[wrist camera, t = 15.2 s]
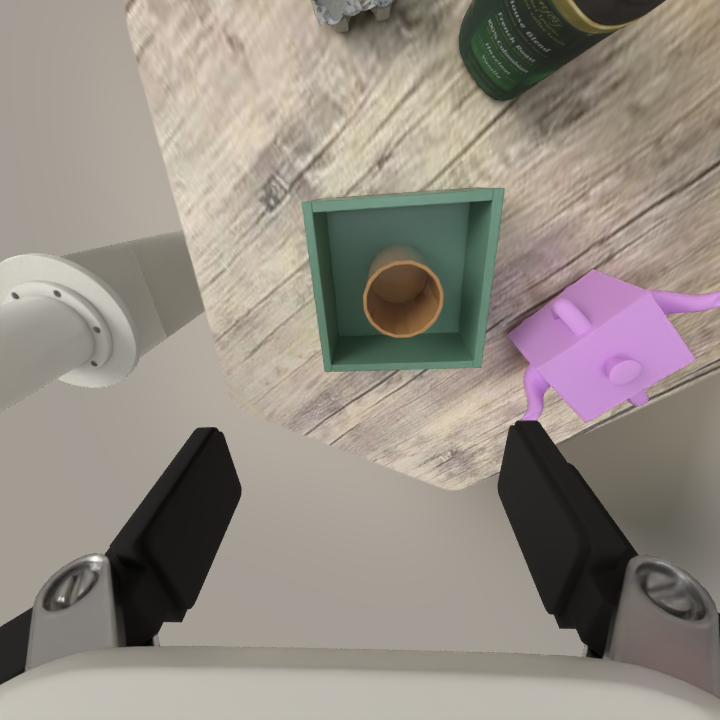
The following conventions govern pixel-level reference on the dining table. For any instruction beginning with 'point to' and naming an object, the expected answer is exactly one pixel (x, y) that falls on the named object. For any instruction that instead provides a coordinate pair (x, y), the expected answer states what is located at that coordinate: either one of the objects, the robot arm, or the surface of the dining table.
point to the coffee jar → (536, 37)
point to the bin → (440, 247)
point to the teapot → (603, 344)
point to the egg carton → (348, 11)
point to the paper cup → (401, 291)
